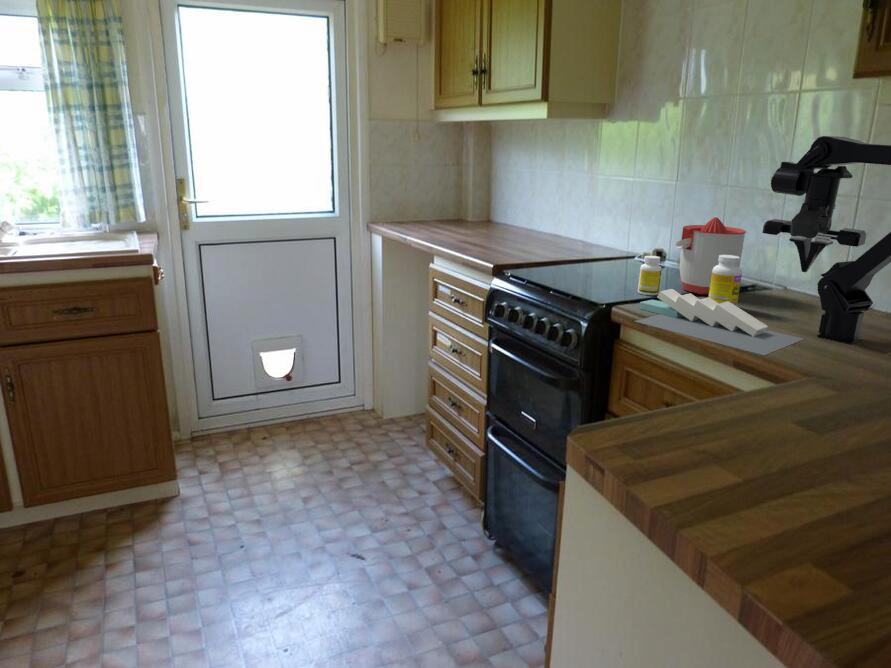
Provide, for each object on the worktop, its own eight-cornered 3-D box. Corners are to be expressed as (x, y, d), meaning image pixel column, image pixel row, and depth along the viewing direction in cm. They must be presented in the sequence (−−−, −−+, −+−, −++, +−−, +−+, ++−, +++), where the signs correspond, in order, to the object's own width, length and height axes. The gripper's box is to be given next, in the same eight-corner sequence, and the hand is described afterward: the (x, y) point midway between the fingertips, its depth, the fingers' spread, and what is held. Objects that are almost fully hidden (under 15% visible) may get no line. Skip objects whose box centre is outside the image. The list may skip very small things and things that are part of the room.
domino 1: (706, 312, 149) (672, 288, 155) (694, 315, 146) (659, 291, 151) (703, 317, 150) (669, 294, 155) (691, 321, 147) (657, 297, 152)
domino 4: (768, 326, 139) (728, 301, 145) (757, 330, 136) (716, 304, 141) (764, 332, 140) (724, 307, 145) (753, 336, 136) (713, 310, 142)
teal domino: (676, 318, 149) (639, 308, 157) (688, 314, 152) (651, 305, 160) (677, 311, 149) (639, 302, 156) (689, 308, 152) (652, 299, 159)
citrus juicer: (659, 285, 185) (668, 213, 179) (718, 285, 187) (728, 213, 181) (684, 298, 170) (695, 220, 164) (748, 298, 172) (760, 221, 166)
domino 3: (746, 321, 142) (708, 297, 148) (735, 325, 139) (697, 300, 145) (743, 327, 143) (705, 303, 149) (732, 331, 140) (693, 306, 146)
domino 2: (726, 317, 145) (690, 293, 151) (715, 320, 142) (678, 296, 148) (723, 323, 146) (687, 299, 152) (712, 326, 143) (675, 302, 149)
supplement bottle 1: (661, 296, 172) (665, 258, 169) (640, 295, 172) (644, 258, 169) (655, 291, 177) (659, 255, 174) (635, 290, 177) (639, 254, 174)
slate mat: (804, 340, 136) (804, 338, 136) (763, 356, 125) (764, 355, 125) (678, 310, 157) (678, 309, 157) (633, 322, 146) (633, 321, 146)
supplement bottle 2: (732, 313, 156) (740, 259, 152) (703, 308, 160) (710, 256, 156) (739, 308, 161) (747, 256, 157) (711, 303, 165) (719, 252, 161)
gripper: (760, 196, 138) (746, 268, 143) (860, 206, 126) (841, 286, 131) (778, 193, 146) (765, 262, 151) (875, 203, 133) (856, 278, 138)
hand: (804, 271), depth 142 cm, fingers closed
